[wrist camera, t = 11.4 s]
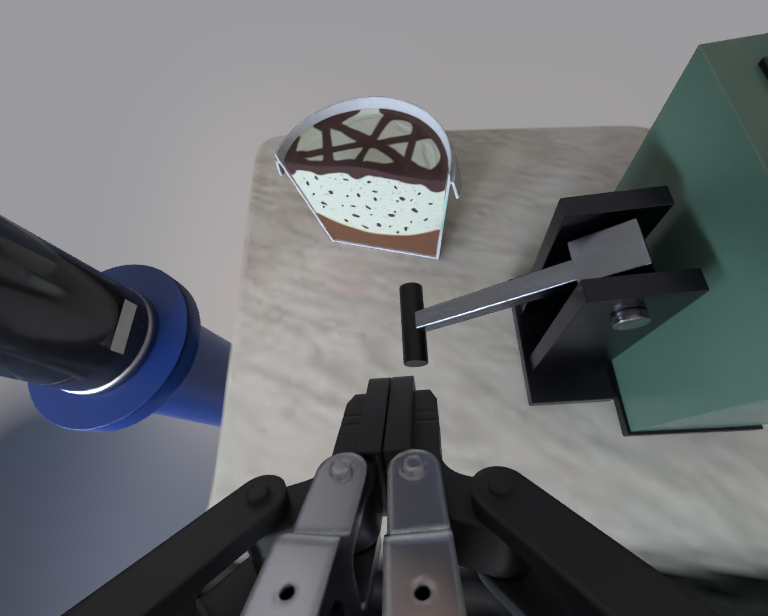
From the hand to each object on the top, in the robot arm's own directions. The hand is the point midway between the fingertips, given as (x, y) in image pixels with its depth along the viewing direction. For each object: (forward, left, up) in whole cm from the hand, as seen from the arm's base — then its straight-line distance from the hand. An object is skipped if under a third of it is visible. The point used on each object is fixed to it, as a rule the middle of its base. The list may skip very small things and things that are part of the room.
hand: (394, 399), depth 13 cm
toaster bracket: (+10, +6, -14) cm, 18 cm away
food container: (-1, +18, -14) cm, 23 cm away
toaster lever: (+6, +6, -7) cm, 11 cm away
